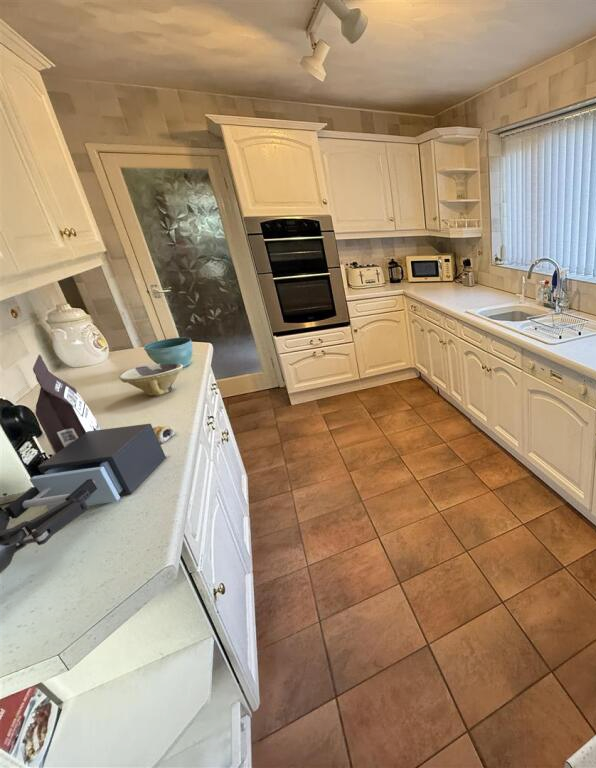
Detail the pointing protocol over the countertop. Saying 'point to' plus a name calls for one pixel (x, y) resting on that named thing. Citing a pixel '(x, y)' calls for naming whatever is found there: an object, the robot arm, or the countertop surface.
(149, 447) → the drawer cabinet
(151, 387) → the bowl
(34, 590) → the countertop surface
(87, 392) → the countertop surface
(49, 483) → the light blue drawer
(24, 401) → the countertop surface
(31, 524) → the robot arm
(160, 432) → the pastry
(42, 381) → the protein powder
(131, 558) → the countertop surface
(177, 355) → the teal blue bowl
